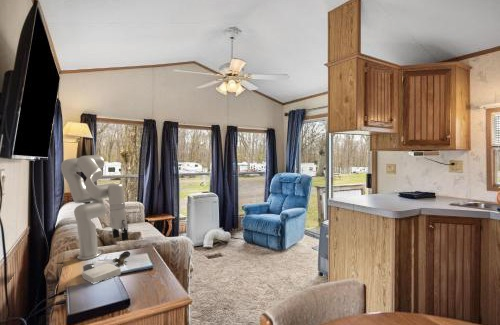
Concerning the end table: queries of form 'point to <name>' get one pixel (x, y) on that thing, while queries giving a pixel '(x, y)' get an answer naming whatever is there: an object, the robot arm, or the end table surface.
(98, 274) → the white slab
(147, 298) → the end table surface
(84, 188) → the robot arm
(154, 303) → the end table surface
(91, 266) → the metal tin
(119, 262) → the eagle figurine
